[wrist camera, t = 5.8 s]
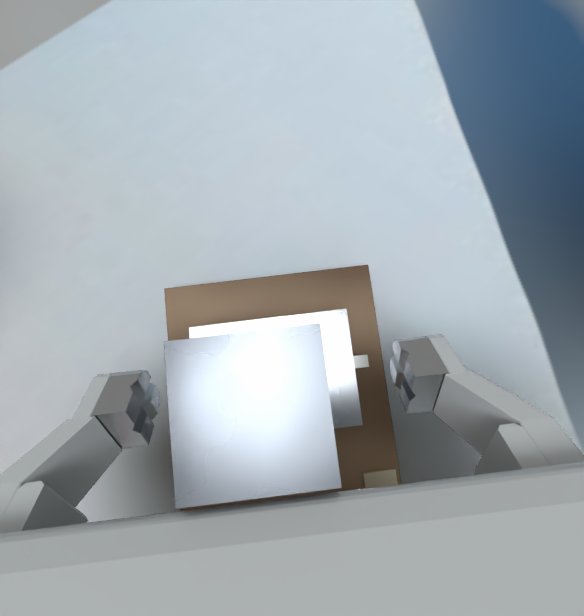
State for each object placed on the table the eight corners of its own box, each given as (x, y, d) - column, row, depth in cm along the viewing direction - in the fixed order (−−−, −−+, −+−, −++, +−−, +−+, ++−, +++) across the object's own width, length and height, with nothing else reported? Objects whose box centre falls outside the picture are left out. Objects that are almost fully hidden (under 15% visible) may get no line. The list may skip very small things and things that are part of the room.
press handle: (373, 410, 16) (521, 524, 6) (212, 430, 16) (65, 584, 6) (359, 311, 17) (470, 253, 6) (204, 330, 17) (56, 302, 6)
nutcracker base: (438, 788, 16) (642, 1400, 7) (214, 820, 16) (104, 1491, 6) (362, 271, 19) (427, 199, 10) (174, 293, 19) (62, 241, 10)
